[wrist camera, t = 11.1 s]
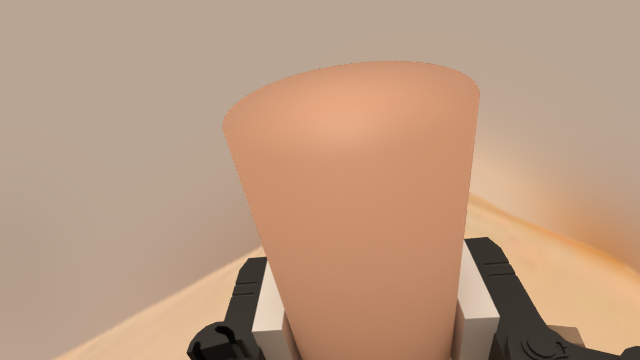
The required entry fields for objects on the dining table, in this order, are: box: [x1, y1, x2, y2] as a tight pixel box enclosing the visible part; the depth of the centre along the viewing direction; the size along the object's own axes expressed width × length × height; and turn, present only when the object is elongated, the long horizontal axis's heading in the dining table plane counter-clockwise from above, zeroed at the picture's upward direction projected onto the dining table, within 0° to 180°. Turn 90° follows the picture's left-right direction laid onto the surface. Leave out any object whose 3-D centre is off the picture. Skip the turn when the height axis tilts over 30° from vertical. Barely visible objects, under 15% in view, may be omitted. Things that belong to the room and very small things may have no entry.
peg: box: [223, 61, 480, 360], centre depth 10 cm, size 4×4×16 cm
